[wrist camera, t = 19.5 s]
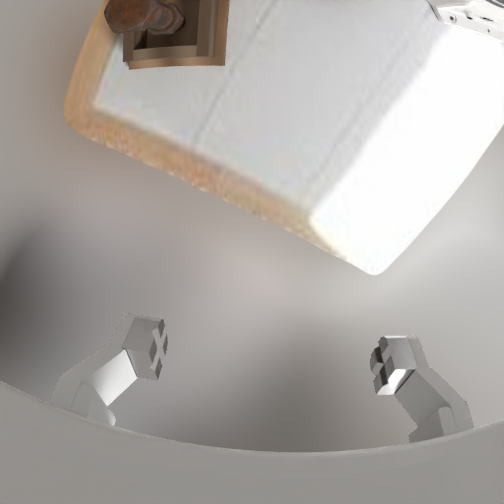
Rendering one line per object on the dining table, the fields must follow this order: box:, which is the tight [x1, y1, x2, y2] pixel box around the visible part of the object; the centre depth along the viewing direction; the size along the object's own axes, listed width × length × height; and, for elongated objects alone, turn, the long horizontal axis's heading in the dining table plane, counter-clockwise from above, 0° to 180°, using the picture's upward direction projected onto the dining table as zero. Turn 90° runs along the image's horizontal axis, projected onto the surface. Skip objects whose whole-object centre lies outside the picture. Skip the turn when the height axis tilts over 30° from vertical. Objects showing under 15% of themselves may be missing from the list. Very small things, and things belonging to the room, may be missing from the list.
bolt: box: [104, 0, 185, 35], centre depth 25 cm, size 6×5×15 cm
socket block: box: [123, 0, 229, 70], centre depth 30 cm, size 14×14×6 cm
